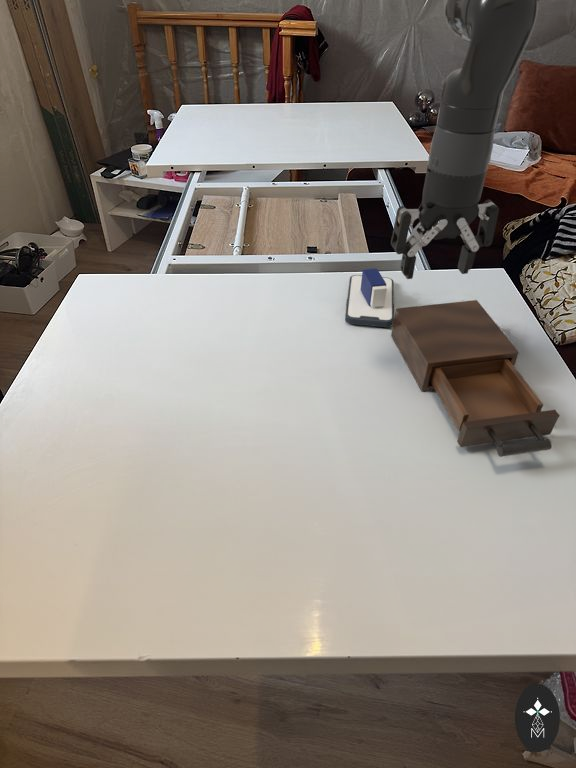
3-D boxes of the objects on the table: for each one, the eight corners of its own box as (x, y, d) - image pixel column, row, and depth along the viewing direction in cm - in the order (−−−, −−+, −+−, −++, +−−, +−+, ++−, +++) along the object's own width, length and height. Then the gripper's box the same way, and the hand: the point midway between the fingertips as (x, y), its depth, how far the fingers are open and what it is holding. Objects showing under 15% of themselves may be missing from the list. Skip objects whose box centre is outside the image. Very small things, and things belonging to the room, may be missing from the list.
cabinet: (508, 380, 85) (519, 352, 81) (421, 391, 83) (428, 363, 79) (469, 327, 96) (476, 299, 92) (390, 335, 94) (395, 308, 90)
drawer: (567, 457, 72) (577, 437, 70) (473, 471, 70) (481, 452, 68) (504, 373, 85) (511, 354, 83) (424, 383, 83) (428, 364, 81)
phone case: (349, 280, 108) (343, 325, 96) (349, 273, 107) (344, 317, 95) (393, 284, 107) (393, 329, 95) (394, 277, 106) (394, 322, 94)
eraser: (374, 288, 102) (377, 268, 100) (385, 307, 98) (388, 286, 95) (360, 289, 102) (362, 269, 99) (370, 308, 97) (373, 288, 94)
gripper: (496, 149, 72) (469, 257, 83) (395, 156, 70) (381, 265, 81) (523, 170, 66) (490, 282, 77) (414, 177, 65) (396, 291, 76)
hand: (434, 273), depth 79 cm, fingers open, 8 cm apart
